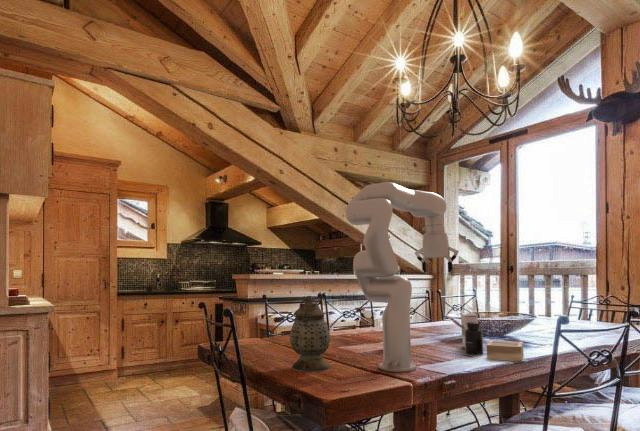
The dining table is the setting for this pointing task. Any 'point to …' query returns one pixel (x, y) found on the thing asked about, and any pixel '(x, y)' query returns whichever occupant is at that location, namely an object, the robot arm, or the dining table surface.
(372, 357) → the dining table surface
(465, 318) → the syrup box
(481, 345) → the supplement bottle
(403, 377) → the dining table surface
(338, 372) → the dining table surface
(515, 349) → the plinth
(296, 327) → the lantern
